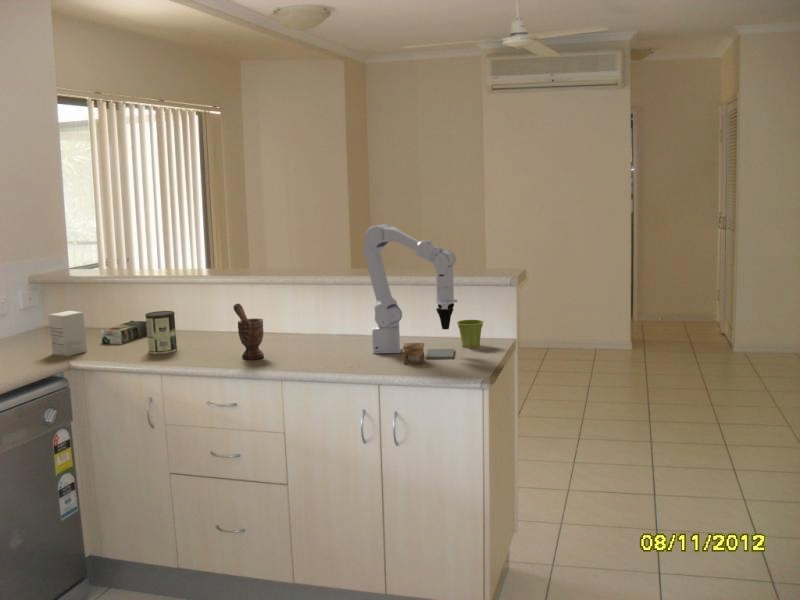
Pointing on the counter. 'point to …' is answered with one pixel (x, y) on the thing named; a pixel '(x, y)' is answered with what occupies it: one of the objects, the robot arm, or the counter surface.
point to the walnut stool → (413, 351)
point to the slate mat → (440, 354)
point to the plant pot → (470, 332)
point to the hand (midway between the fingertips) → (445, 327)
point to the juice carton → (124, 332)
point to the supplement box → (67, 333)
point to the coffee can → (161, 332)
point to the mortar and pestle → (249, 334)
